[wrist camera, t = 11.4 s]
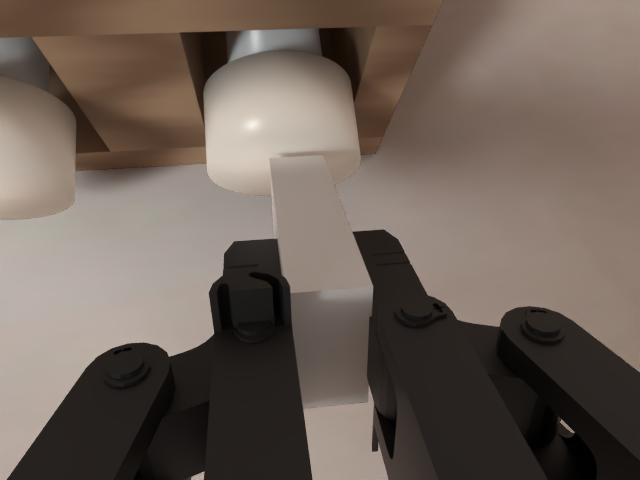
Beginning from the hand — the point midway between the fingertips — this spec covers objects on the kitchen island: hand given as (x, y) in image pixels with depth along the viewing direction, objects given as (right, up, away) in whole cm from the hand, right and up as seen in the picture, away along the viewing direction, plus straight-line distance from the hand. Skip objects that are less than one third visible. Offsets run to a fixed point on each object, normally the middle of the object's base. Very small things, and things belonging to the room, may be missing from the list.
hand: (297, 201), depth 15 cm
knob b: (-1, +7, +5) cm, 8 cm away
